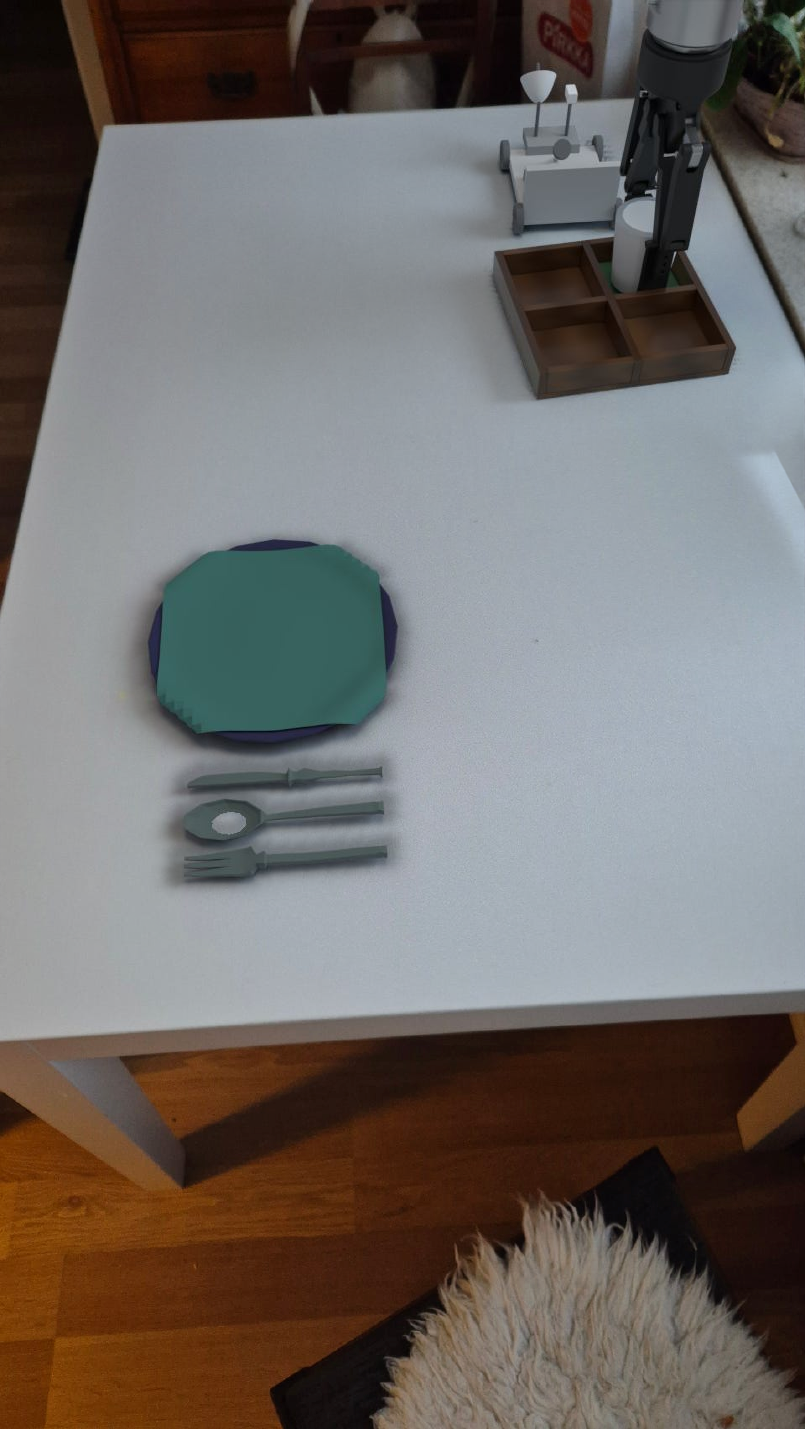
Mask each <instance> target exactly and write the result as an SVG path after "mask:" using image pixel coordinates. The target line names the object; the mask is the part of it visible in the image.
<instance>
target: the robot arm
mask: <svg viewBox="0 0 805 1429" xmlns="http://www.w3.org/2000/svg"><path fill="white" fill-rule="evenodd" d="M744 2H745V0H644V3H645V4H646V6H647V12H646V18H645V26H646V29H645V30H644V32H643V33H642V38H641V44H640V50H639V55H638V60H637V67H636V79H635V91H634V100H633V104H632V109H631V113H630V118H629V123H628V128H627V131H626V137H625V141H624V146H623V151H622V154H621V155H622V156H621V160H620V161H621V165H620V175H621V176H620V178H621V177H625V179H624V182H623V190H624V193H625V194H626V195H624V199H623V200H624V201H623V203H624V202H626V201H629V200H631V199H634V198H639V197H654V196H653V194H652V192H650V193H646V192H647V191H655V197H656V199H655V212H654V225H653V238H652V240H647V241H645V248H646V250H645V255H644V259H643V264H642V269H641V274H640V279H639V284H638V288H637V291H645V290H653V289H661V288H666V287H667V282H668V278H669V274H670V270H671V265H672V261H673V257H674V253H675V252H679V251H685V252H686V251H688V250H689V248H690V243H691V238H692V234H693V229H694V223H695V218H696V214H697V208H698V203H699V198H700V194H701V187H702V183H703V179H704V178H703V177H704V174H705V173H704V172H705V169H706V167H707V164H708V162H709V159H710V156H711V153H712V143H711V141H709V140H705V141H701V140H700V137H699V134H698V133H699V131H700V129H701V124H702V105H703V104H704V102H705V101H706V100H708V99H709V98H710V97H711V96H713V95H714V94H716V93H717V92H718V91H719V90H720V89H721V87H722V86H723V84H724V82H725V78H726V74H727V69H728V66H729V62H730V58H731V53H732V49H733V44H734V41H733V38H732V37H734V36H735V35H736V33H737V30H738V26H739V23H740V20H741V19H740V18H741V15H742V14H741V13H742V10H743V6H744ZM672 154H673V155H672ZM665 155H668V156H665Z"/></svg>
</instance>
